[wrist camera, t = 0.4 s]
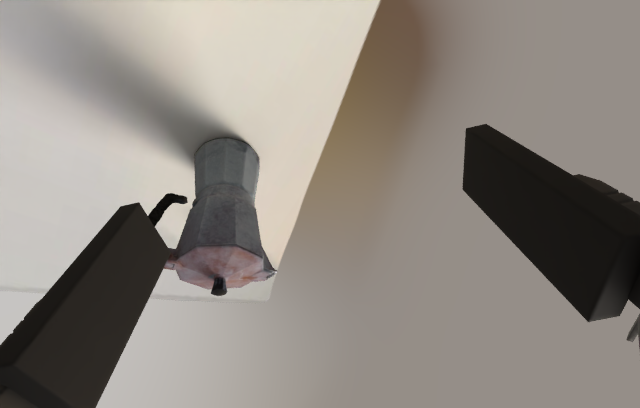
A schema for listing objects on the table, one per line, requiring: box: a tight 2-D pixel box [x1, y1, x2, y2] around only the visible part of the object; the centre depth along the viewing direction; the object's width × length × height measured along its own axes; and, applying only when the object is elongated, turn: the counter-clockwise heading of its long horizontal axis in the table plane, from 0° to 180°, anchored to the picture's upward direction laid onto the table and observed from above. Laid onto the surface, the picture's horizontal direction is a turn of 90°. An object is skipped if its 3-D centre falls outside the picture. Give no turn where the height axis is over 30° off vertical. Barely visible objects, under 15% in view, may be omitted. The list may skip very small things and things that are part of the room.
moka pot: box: [148, 138, 277, 296], centre depth 37 cm, size 10×15×20 cm, turn 64°
